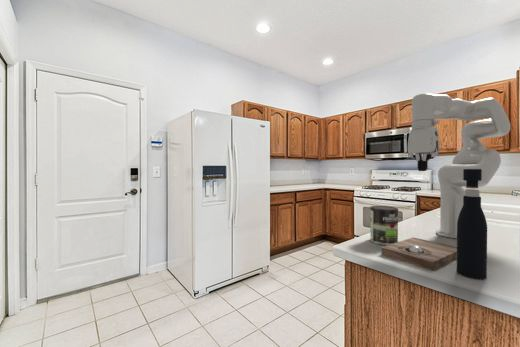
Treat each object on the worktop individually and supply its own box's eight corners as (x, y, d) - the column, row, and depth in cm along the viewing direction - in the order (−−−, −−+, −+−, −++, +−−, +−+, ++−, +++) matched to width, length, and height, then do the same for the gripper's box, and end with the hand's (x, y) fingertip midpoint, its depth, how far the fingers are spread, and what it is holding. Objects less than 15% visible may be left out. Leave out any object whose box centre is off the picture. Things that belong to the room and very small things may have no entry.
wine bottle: (492, 280, 64) (494, 169, 64) (465, 278, 66) (467, 169, 65) (475, 270, 71) (477, 168, 70) (451, 269, 72) (452, 169, 71)
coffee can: (404, 244, 95) (404, 209, 95) (380, 246, 93) (380, 210, 93) (386, 237, 105) (386, 205, 105) (365, 238, 104) (365, 206, 103)
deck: (413, 243, 96) (413, 237, 96) (462, 255, 83) (462, 248, 83) (381, 254, 85) (381, 247, 84) (433, 270, 71) (433, 262, 71)
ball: (405, 248, 82) (407, 258, 82) (418, 251, 78) (420, 261, 79) (410, 241, 83) (413, 251, 84) (423, 245, 80) (425, 255, 81)
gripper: (448, 123, 93) (448, 171, 93) (408, 129, 105) (407, 170, 106) (440, 121, 89) (439, 171, 89) (398, 127, 101) (398, 171, 102)
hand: (422, 170), depth 97 cm, fingers closed
